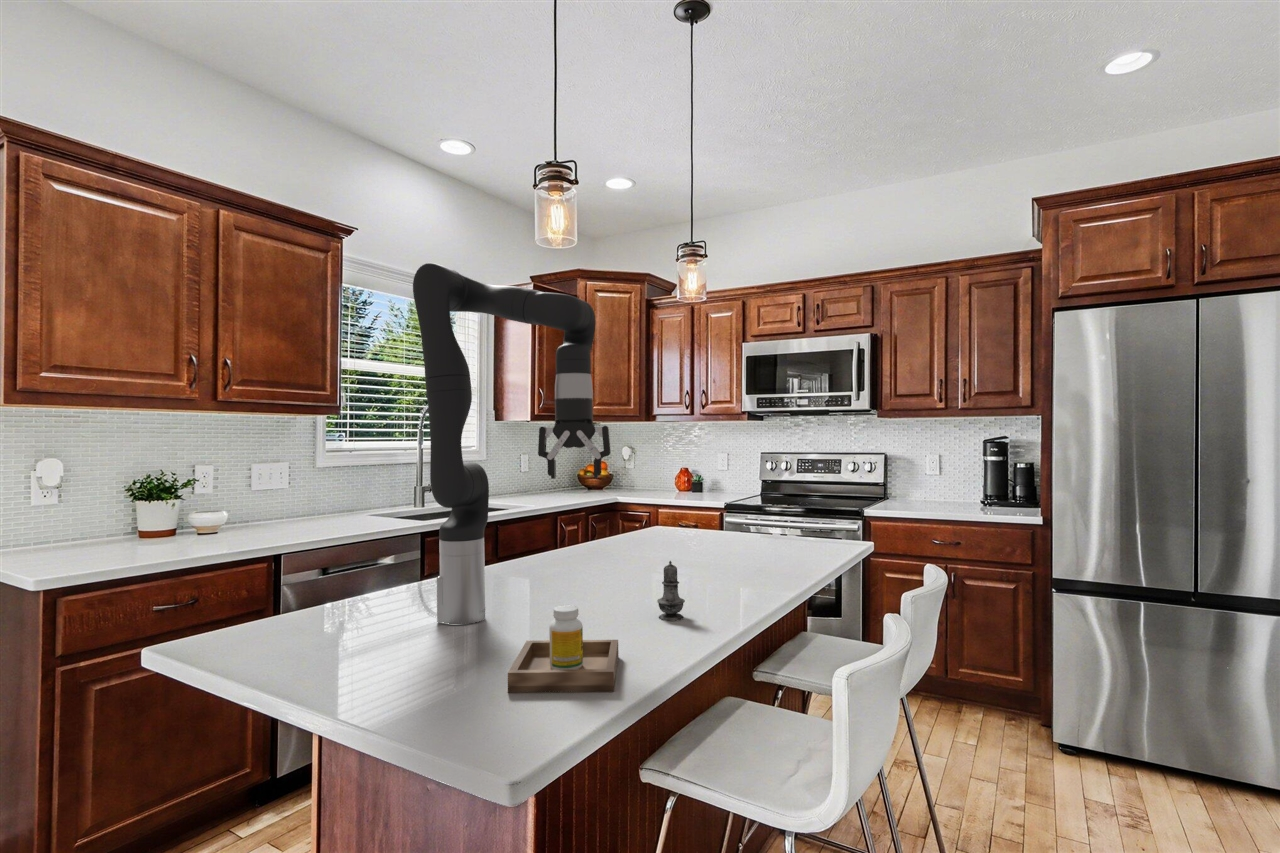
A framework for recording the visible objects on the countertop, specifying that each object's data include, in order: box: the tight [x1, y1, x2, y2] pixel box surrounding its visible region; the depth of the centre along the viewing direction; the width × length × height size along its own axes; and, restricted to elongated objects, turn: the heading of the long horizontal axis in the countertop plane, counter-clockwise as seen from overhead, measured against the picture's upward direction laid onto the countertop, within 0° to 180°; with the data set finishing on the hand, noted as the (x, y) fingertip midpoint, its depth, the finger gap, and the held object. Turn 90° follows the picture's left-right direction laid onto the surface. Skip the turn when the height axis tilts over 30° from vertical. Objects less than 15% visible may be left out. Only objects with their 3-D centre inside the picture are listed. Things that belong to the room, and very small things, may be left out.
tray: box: [507, 639, 619, 694], centre depth 111 cm, size 16×16×3 cm
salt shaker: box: [656, 560, 686, 622], centre depth 143 cm, size 6×6×12 cm
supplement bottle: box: [549, 604, 584, 670], centre depth 111 cm, size 5×5×10 cm
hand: (574, 478), depth 136 cm, fingers open, 8 cm apart
